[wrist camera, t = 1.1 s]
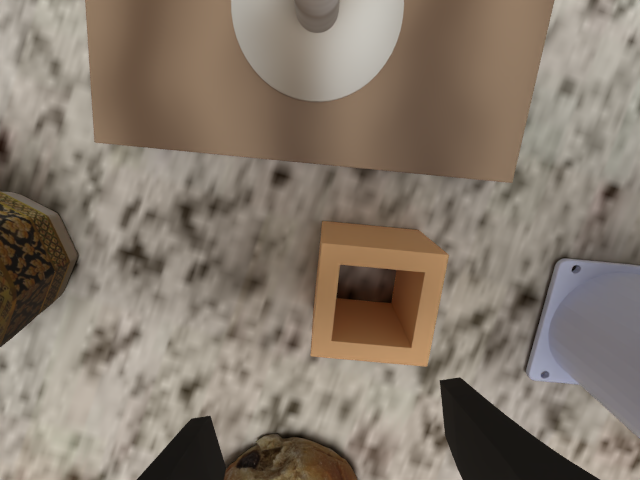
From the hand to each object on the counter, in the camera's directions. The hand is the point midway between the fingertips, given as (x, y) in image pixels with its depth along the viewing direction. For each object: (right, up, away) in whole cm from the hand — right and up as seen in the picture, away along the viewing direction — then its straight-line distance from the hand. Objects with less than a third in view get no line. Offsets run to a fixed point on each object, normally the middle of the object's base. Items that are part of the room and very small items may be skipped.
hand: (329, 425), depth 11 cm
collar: (+2, +4, +10) cm, 11 cm away
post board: (0, +17, +7) cm, 18 cm away
